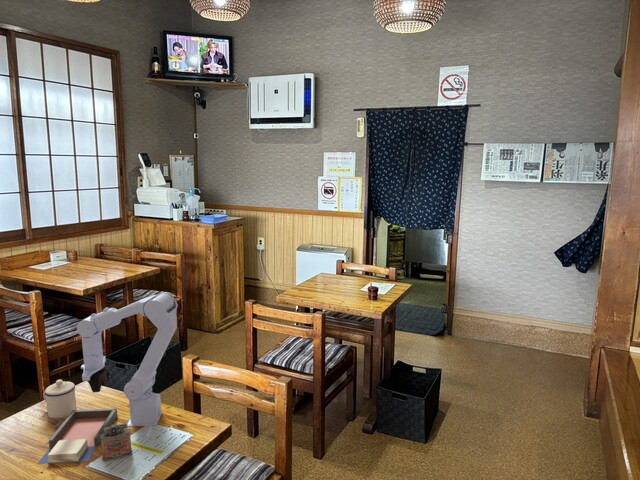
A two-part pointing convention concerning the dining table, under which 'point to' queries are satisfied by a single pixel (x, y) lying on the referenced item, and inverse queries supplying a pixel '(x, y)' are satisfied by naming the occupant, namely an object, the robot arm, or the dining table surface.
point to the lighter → (116, 442)
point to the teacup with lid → (60, 399)
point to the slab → (67, 450)
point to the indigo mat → (84, 457)
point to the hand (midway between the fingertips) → (96, 391)
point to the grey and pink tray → (84, 426)
